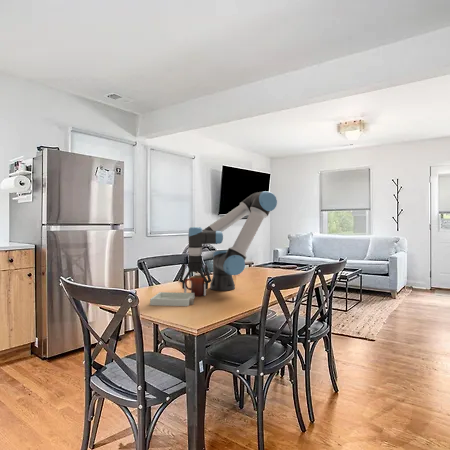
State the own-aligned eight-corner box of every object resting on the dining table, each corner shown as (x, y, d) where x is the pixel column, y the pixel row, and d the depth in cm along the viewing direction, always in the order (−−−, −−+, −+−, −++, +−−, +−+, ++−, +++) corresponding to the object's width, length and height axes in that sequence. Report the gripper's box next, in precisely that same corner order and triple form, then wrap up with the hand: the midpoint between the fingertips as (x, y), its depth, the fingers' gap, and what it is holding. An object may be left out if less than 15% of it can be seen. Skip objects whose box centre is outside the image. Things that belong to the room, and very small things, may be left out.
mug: (201, 293, 204) (201, 275, 204) (208, 296, 196) (208, 277, 196) (182, 295, 199) (182, 276, 198) (187, 298, 191) (188, 279, 191)
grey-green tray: (197, 298, 190) (197, 293, 190) (191, 306, 173) (191, 300, 173) (159, 297, 192) (159, 292, 192) (150, 305, 175) (150, 299, 175)
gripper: (216, 254, 200) (216, 293, 200) (176, 254, 202) (176, 293, 202) (214, 256, 192) (214, 296, 193) (173, 255, 195) (173, 295, 195)
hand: (195, 294), depth 197 cm, fingers open, 10 cm apart
